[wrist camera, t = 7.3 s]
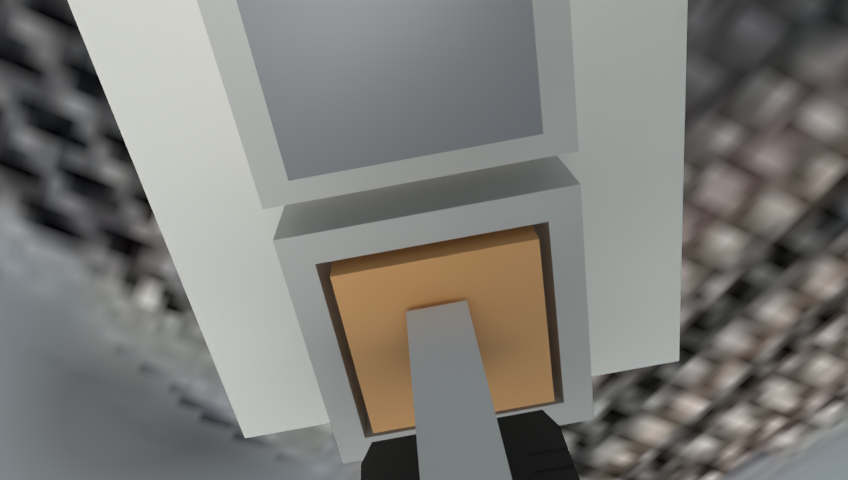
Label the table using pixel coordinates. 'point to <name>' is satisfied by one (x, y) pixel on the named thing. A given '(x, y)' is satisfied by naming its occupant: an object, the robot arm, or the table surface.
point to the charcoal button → (392, 77)
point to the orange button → (437, 285)
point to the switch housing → (405, 201)
